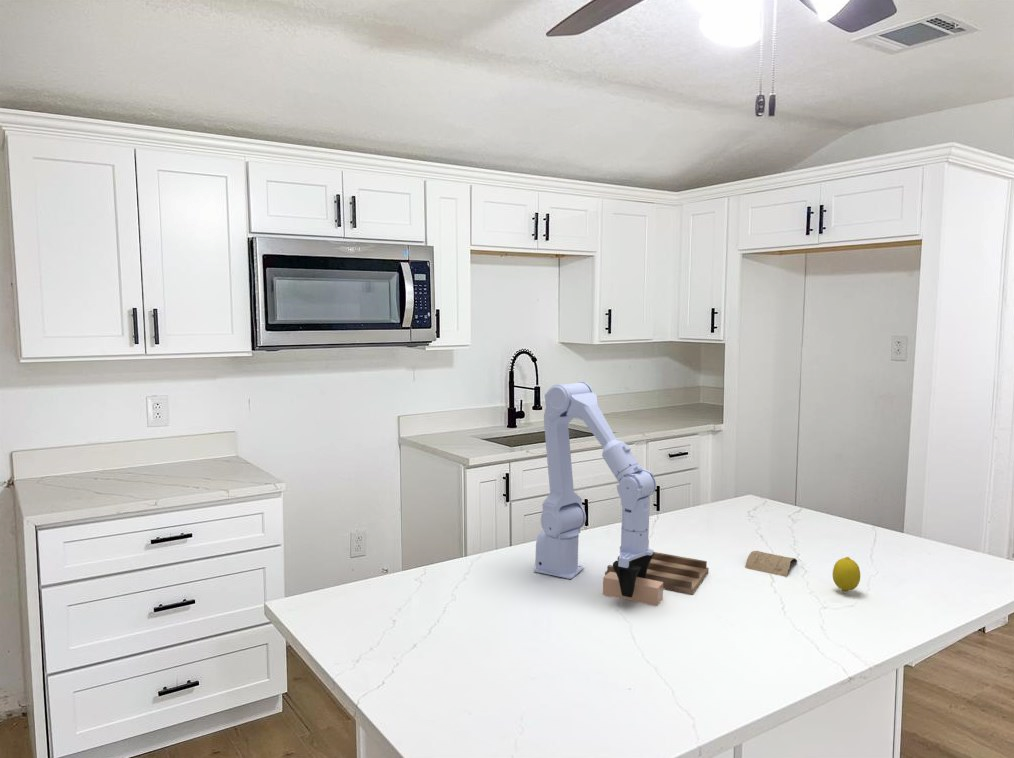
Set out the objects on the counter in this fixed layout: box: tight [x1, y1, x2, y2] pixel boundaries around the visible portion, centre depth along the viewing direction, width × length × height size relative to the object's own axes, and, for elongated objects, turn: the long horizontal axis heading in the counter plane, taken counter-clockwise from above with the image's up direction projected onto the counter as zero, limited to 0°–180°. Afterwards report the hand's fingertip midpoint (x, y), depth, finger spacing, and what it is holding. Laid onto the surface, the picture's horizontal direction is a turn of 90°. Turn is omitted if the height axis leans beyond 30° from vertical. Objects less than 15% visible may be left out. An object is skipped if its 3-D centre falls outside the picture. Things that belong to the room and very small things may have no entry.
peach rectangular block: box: [602, 572, 664, 607], centre depth 160 cm, size 12×4×4 cm, turn 62°
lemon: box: [832, 556, 861, 593], centre depth 164 cm, size 6×6×8 cm
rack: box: [604, 551, 710, 595], centre depth 173 cm, size 20×15×3 cm
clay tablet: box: [744, 550, 798, 578], centre depth 181 cm, size 14×10×3 cm
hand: (632, 589), depth 160 cm, fingers open, 7 cm apart
